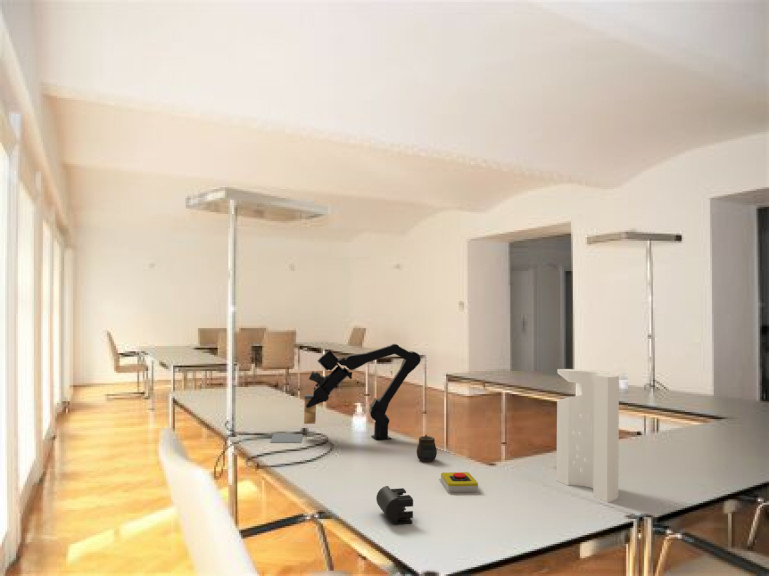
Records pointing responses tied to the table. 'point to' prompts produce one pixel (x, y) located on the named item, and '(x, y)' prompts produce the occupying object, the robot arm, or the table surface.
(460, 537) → the table surface
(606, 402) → the white notched upright
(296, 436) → the slate mat
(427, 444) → the dark lidded jar
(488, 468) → the table surface
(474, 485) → the emergency button
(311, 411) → the oak block
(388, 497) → the end cap
